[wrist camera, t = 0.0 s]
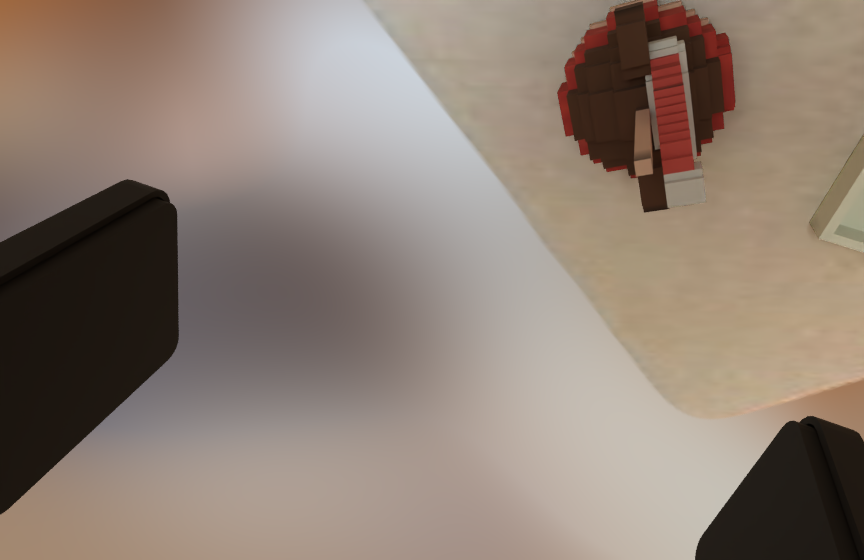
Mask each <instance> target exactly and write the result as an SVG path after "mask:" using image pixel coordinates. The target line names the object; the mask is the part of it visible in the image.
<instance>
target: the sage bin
mask: <svg viewBox="0 0 864 560" xmlns="http://www.w3.org/2000/svg"><path fill="white" fill-rule="evenodd" d="M810 224H811V226H812V228H813V230H814V231H815V233H816V235H817V237H818V239H821V240H824V241H827V242H831V243H834V244H837V245H840V246H843V247H847V248H850V249H853V250H856V251H859V252H863V253H864V135H863V137H862V138H861V140H860V141H859V143H858V145H857V146H856V148H855V150H854V151H853V153H852V154H851V156H850V158H849V159H848V161H847V163H846V164H845V166H844V167H843V169H842V171H841V172H840V174H839V175H838V177H837V179H836V180H835V182H834V184H833V185H832V187H831V188H830V190H829V192H828V193H827V195H826V196H825V198H824V200H823V201H822V203H821V205H820V206H819V208H818V209H817V211H816V213H815V214H814V216H813V217H812V219H811V221H810Z"/></svg>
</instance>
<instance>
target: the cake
mask: <svg viewBox="0 0 864 560" xmlns="http://www.w3.org/2000/svg"><path fill="white" fill-rule="evenodd" d="M572 56H573V58H570V59H568V61H567V63H566V65H565V67H564V68H565V74H566V82H564V83H562V84H561V86H560V89H559V91H558V93H557V94H558V99H559V104H560V109H561V114H562V120H563V125H564V130H565V135H566V136H571V135H574V139H575V141H577V140H578V143H579V148H580V154H581V155H586V154H589V156H590V160H593V162H594V164H595V163H601V162H603V167H604V169H606V171H607V172H610V171H616V170H621V169H628V173H629V176H631V178H636V177H638V180H639V187H640V194H641V200H642V206H643V209H644V212H651V211H657V210H664V209H669V208H672V207H679V206H685V205H692V204H699V203H706V193H705V184H704V176H703V168H702V164H701V161H700V162H694V160H693V159H697V156H701V152H702V151H701V144H706V143H711V142H712V138H713V131H714V130H719V129H724V121H723V112H726V111H731V110H734V107H735V91H734V78H733V65H732V53H731V48H730V45H729V39H728V36H727V35H726V33H722V34H718V35H716V31H715V29H714V27H713V26H712V24H708V18H703V19H699V17H698V15H695V10H694V9H691V10H687V11H685V8H684V6H682V3H681V0H680V1H676V2H672V3H668V4H665V5H661V6H658V5H657V0H635V1H631V2H628V3H624V4H620V5H616V6H613V7H610V12H609V13H608V15H607V18H606V20H604V21H600V22H596V23H593V24H590V30H587V32H586V34H585V36H584V37H582V38H581V44H579V45H578V46H577V48H576V50H575V51H573V52H572Z"/></svg>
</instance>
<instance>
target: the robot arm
mask: <svg viewBox="0 0 864 560" xmlns="http://www.w3.org/2000/svg"><path fill="white" fill-rule="evenodd" d="M178 329H179V328H178V246H177V211H176V208H175V206H174V205H173V204H171V203H170V200H169V197H168V195H167V194H166V193H165V192H164V191H162V190H159V189H156V188H153V187H151V186H148V185H145V184H142V183H139V182H136V181H133V180H128V179H127V180H124V181H121V182H119V183H117V184H115V185H113V186H111V187H109V188H107V189H105V190H103V191H101V192H99V193H97V194H95V195H93V196H91V197H89V198H87V199H85V200H83V201H81V202H79V203H77V204H75V205H73V206H71V207H69V208H67V209H65V210H63V211H61V212H59V213H57V214H56V215H54V216H52V217H50V218H48V219H46V220H44V221H42V222H40V223H38V224H36V225H34V226H32V227H30V228H28V229H26V230H24V231H22V232H20V233H18V234H16V235H14V236H12V237H10V238H8V239H6V240H4V241H2V242H0V514H2V513H3V512H5V511H6V510H7V509H9V508H10V507H11V506H12V505H13V504H14V503H15V502H16V501H17V500H19V499H20V498H21V496H23V495H24V494H25V493H26V492H27V491H28V490H29V489H30V488H31V487H32V486H34V485H35V484H36V483H37V482H38V481H39V480H40V479H41V478H42V477H43V476H44V475H45V474H46V473H47V472H49V470H50V469H52V468H53V467H54V466H55V465H56V464H57V463H58V462H59V461H60V460H61V459H62V458H64V456H66V455H67V454H68V453H69V452H70V451H71V450H72V449H73V448H74V447H75V446H76V445H77V444H79V443H80V442H81V441H82V440H83V439H84V438H85V437H86V436H87V435H88V434H89V433H90V432H91V431H92V430H94V429H95V428H96V427H97V426H98V425H99V424H100V423H101V422H102V421H103V420H104V419H105V418H106V417H107V416H109V414H111V413H112V412H113V411H114V410H115V409H116V408H117V407H118V406H119V405H120V404H121V403H122V402H124V401H125V400H126V399H127V398H128V397H129V396H130V395H131V394H132V393H133V392H134V391H135V390H136V389H137V388H139V387H140V386H141V385H142V384H143V383H144V382H145V381H146V380H147V379H148V378H149V377H150V376H151V375H152V374H154V373H155V372H156V371H157V370H158V369H159V368H160V367H161V366H162V365H163V364H164V363H165V362H166V361H167V360H168V359H169V358H170V357H171V356H172V354H173V353H174V351H175V349H176V347H177V343H178V337H179V330H178ZM695 560H864V441H863V439H862V438H861V436H860V434H859V433H857V432H856V431H854V430H851V429H849V428H846V427H843V426H840V425H837V424H834V423H831V422H828V421H825V420H823V419H820V418H817V417H814V416H808V417H806V418H804V419H802V420H801V421H800V422H796V421H789V422H788V423H786V424H785V425H784V426H783V427H782V429H781V430H780V431H779V433H778V434H777V435H776V437H775V438H774V439H773V441H772V442H771V444H770V445H769V446H768V448H767V449H766V450H765V451H764V453H763V454H762V455H761V457H760V458H759V460H758V461H757V462H756V464H755V465H754V466H753V468H752V469H751V470H750V472H749V473H748V474H747V476H746V477H745V478H744V480H743V481H742V482H741V484H740V485H739V486H738V488H737V489H736V490H735V492H734V494H733V495H732V496H731V497H730V499H729V500H728V501H727V503H726V504H725V505H724V507H723V508H722V509H721V511H720V512H719V513H718V515H717V516H716V517H715V519H714V520H713V521H712V523H711V524H710V525H709V527H708V528H707V530H706V531H705V532H704V534H703V535H702V537H701V538H700V540H699V543H698V546H697V550H696V556H695Z"/></svg>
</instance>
